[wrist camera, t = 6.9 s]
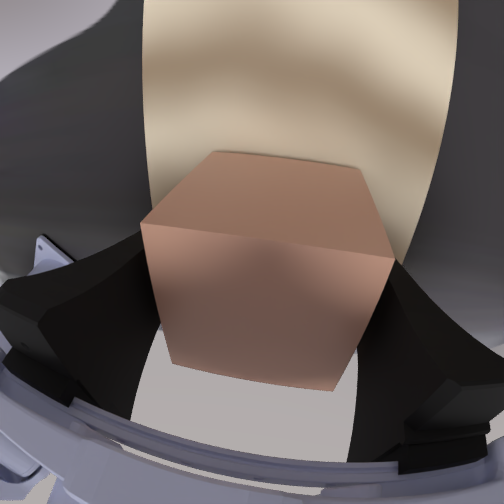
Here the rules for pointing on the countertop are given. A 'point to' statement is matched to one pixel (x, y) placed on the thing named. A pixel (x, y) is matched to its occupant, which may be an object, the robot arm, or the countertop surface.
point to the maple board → (303, 90)
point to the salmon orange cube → (267, 268)
